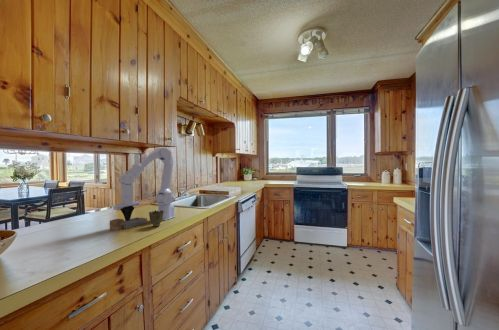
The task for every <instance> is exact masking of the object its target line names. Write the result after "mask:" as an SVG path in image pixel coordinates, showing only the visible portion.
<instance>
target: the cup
mask: <svg viewBox="0 0 499 330" xmlns="http://www.w3.org/2000/svg"><path fill="white" fill-rule="evenodd" d="M163 213H164V211H163V210H162V211H160V212H158V209H157V210H152V211H148V216H149V221H150V223H151V224H152V226H153V227H155V228H157V227H160V226H161V223H162V222H163V221H164V220H163Z"/></svg>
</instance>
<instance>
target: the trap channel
mask: <svg viewBox="0 0 499 330" xmlns="http://www.w3.org/2000/svg"><path fill="white" fill-rule="evenodd" d="M146 223H148V217H141V216H137V217H133V218H130V220H129V221H126V220H125V219H124V229H125V230H127V229H130V228H132V227H134V228H135V227H136V226H140V225H143V224H146Z"/></svg>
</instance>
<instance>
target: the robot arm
mask: <svg viewBox="0 0 499 330" xmlns="http://www.w3.org/2000/svg"><path fill="white" fill-rule="evenodd" d="M156 159H159V160H160V161H161V162H162V163H163V167H162V168H163V169H162V175H161V185H160V189H159V190H158V192H157V194H156V196H155V200H156V202H157V210H158V212H160V211H162V210H163V211H164V213H163V220H162V221H167V220H170V219H174V218H176V216H175V205H174V204H173V203H172V202H173V195H172V194H173V193H172V191H171V182H172V177H173V175H172V174H173V168H174V167H173V166H174V159H173V156H172V151H171V149H170V148H168V147H167V146H166V147H165V146H163V147H156V148H154V150H152V151H151V152H150V153H149V154H148V155H147V156H146V157H145V158H144V159H143V160H142V161H141V162H140V163H135V164H132V165H131V167H130V168H129V169H128V170H126V171H125V173H123V174H121V175H119V176H120V177H119V178H118V181H119V182H120V203H119V204H117V205H113V207H112V209H113V210H114V211H118V210H120V211H121V213H122V214H123V217H124V220H126V221H129V220H130V219H132V218H131V217H132V213H133V211H134V210H135V206H141V202H140V201H134V185H133V183H134V182H135V181H136V179H137V178H138V177H139V176H140V175H141V174H142V173H143V172H144V171H145V168H146V167H147V166H148V165H149V164H151V163H152V162H153V161H154V160H156Z"/></svg>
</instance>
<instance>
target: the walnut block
mask: <svg viewBox="0 0 499 330" xmlns="http://www.w3.org/2000/svg"><path fill="white" fill-rule="evenodd" d="M124 220H125V218H124V219H123V218H115V219H110V220H109V230H110V231H113V232H117V231H122V230H124V229H125V225H124Z"/></svg>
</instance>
